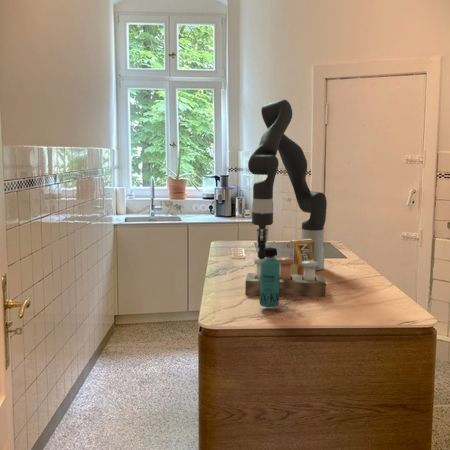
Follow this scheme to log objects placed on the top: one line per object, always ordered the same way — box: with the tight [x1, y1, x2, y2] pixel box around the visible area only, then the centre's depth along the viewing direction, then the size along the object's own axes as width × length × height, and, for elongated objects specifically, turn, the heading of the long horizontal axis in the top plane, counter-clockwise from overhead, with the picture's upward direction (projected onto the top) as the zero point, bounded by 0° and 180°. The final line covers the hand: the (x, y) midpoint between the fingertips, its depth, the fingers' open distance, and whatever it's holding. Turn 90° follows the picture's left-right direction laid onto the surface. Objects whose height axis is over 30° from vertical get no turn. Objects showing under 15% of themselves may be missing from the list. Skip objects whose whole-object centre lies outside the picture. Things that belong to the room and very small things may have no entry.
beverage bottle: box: [258, 247, 280, 308], centre depth 171 cm, size 6×7×20 cm
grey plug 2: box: [302, 261, 318, 281], centre depth 192 cm, size 6×6×10 cm
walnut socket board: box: [244, 272, 327, 298], centre depth 193 cm, size 28×12×5 cm, turn 84°
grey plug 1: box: [253, 256, 266, 279], centre depth 194 cm, size 6×6×10 cm
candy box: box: [289, 238, 314, 275], centre depth 214 cm, size 9×4×15 cm, turn 110°
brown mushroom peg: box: [277, 256, 294, 280], centre depth 193 cm, size 6×6×10 cm
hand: (261, 258), depth 193 cm, fingers closed
